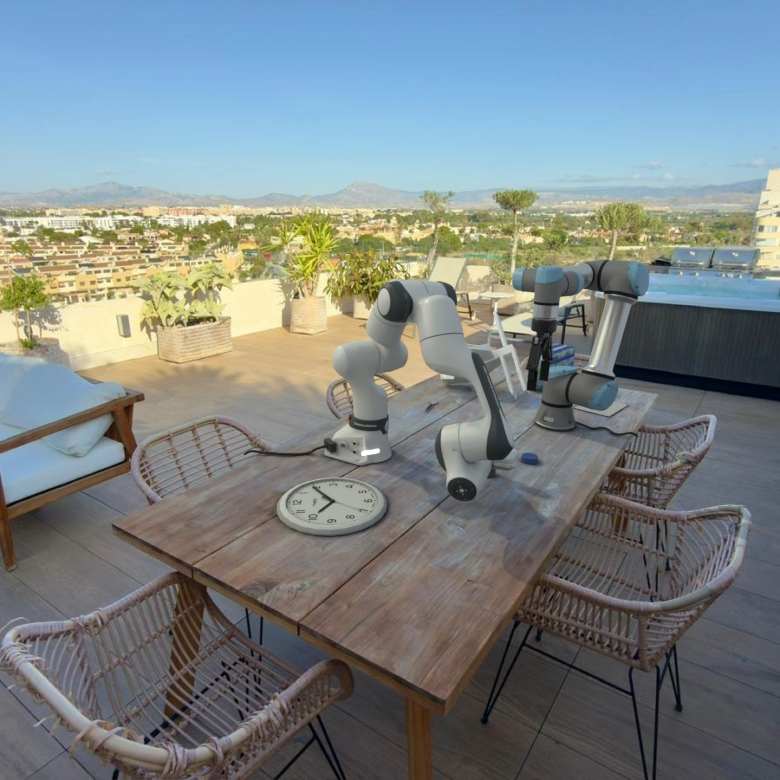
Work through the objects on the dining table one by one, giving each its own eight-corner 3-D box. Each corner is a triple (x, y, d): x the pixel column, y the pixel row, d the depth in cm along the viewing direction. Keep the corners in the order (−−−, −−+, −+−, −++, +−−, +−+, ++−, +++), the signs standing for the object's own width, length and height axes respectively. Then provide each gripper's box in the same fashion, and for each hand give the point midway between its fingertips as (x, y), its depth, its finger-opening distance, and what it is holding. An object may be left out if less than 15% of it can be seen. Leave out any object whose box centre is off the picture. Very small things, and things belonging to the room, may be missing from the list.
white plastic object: (461, 429, 252) (437, 405, 227) (444, 352, 274) (420, 323, 250) (535, 404, 240) (518, 377, 215) (510, 326, 262) (492, 293, 237)
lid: (517, 459, 173) (518, 454, 173) (530, 456, 176) (530, 451, 175) (528, 465, 169) (528, 460, 168) (540, 462, 171) (541, 457, 171)
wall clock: (392, 527, 129) (268, 531, 127) (391, 533, 130) (269, 537, 127) (383, 473, 158) (282, 475, 155) (383, 478, 158) (282, 480, 156)
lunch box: (547, 395, 239) (552, 351, 233) (526, 390, 247) (530, 347, 240) (574, 384, 257) (579, 343, 251) (554, 380, 264) (558, 339, 258)
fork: (422, 411, 216) (422, 407, 215) (433, 400, 230) (433, 396, 230) (428, 412, 215) (429, 407, 215) (438, 401, 230) (439, 396, 229)
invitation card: (608, 416, 214) (573, 407, 224) (608, 416, 214) (573, 408, 224) (628, 404, 229) (594, 396, 238) (628, 405, 229) (594, 397, 238)
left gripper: (516, 458, 131) (522, 438, 144) (437, 445, 138) (450, 427, 150) (514, 480, 133) (520, 459, 146) (436, 467, 140) (448, 447, 152)
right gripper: (543, 312, 170) (537, 374, 177) (519, 322, 150) (513, 393, 156) (567, 314, 167) (559, 378, 173) (545, 325, 146) (538, 397, 153)
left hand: (484, 442), depth 148 cm, fingers open, 8 cm apart
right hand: (537, 385), depth 165 cm, fingers open, 13 cm apart
